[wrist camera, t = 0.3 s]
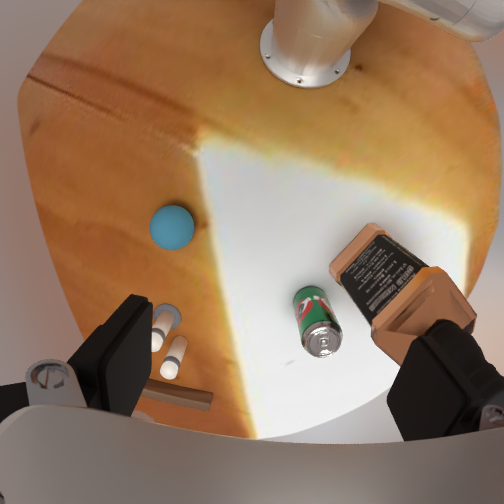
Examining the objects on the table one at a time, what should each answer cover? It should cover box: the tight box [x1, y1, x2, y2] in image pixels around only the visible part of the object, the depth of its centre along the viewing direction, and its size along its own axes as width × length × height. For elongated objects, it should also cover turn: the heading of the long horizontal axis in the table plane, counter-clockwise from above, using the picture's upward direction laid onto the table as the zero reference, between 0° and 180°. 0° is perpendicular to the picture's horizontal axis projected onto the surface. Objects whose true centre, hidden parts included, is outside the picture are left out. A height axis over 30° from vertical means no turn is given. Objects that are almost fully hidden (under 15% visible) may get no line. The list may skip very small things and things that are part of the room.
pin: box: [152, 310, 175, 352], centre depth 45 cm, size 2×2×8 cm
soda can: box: [294, 287, 343, 358], centre depth 42 cm, size 5×5×12 cm
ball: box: [150, 205, 194, 250], centre depth 42 cm, size 6×6×6 cm
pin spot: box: [154, 304, 181, 329], centre depth 49 cm, size 4×4×1 cm
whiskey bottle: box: [330, 224, 504, 410], centre depth 30 cm, size 10×10×32 cm
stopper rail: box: [140, 379, 213, 411], centre depth 51 cm, size 2×16×3 cm, turn 79°
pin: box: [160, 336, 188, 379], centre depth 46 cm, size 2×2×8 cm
